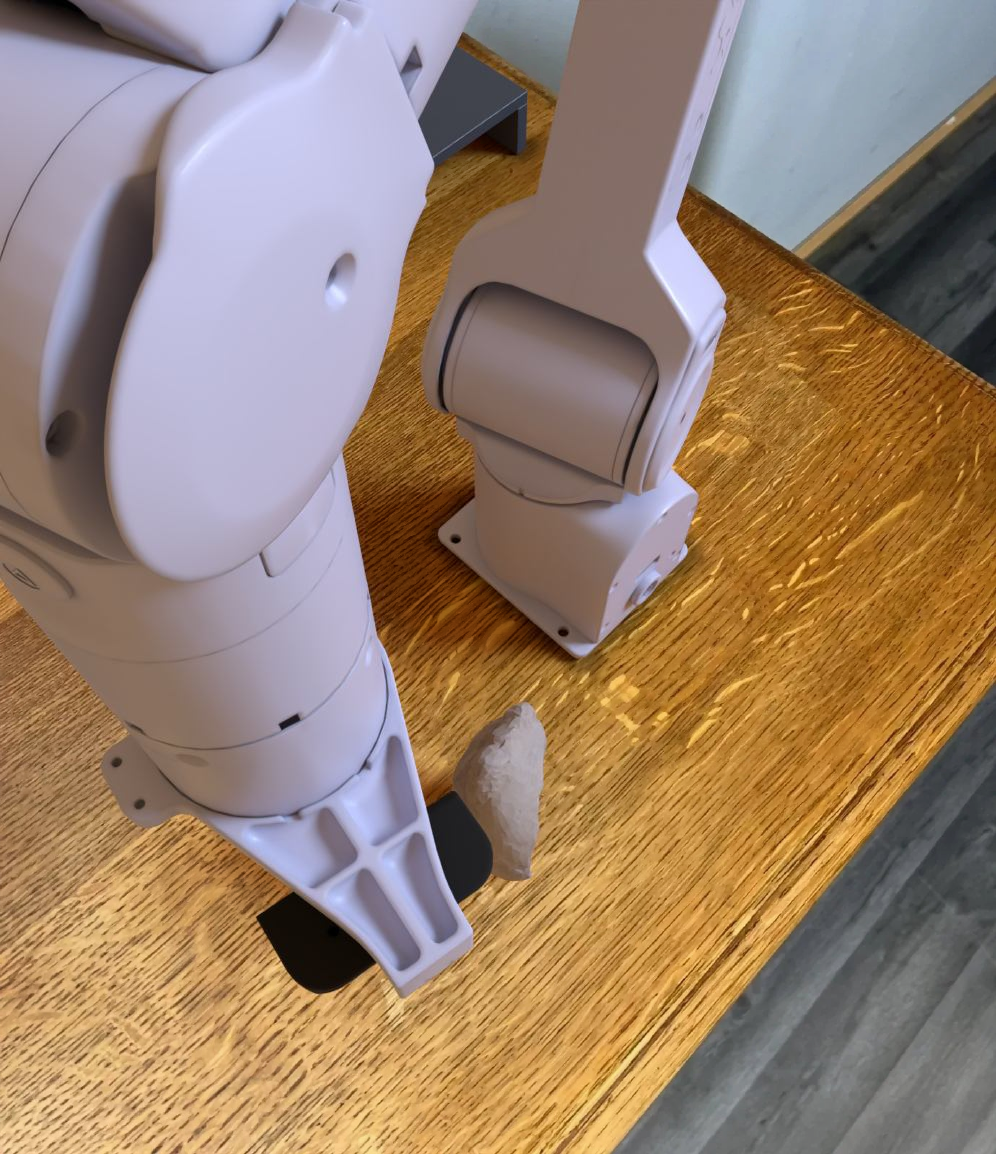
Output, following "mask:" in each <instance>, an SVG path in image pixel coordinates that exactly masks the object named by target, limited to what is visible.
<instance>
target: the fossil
mask: <svg viewBox="0 0 996 1154" xmlns="http://www.w3.org/2000/svg"><path fill="white" fill-rule="evenodd" d="M546 749H547V735H546V731H545V728H544V726H543V724H542V722H541V721H540V719H538V717H537V713H536V709H534V707H533V705H531V703H529V702H527V701H521V702H518V703H516V704H514V705H512V706H511V707H509V708H508V709H506V710H505V711H504V713H503V715H502V716H500V717H498V718H496V719H494V720H491V721H490V722H489V723H488V724H486V725H485V726H483V727H482V729H480V731H478V732H477V733H476V734H475V735H474V736H473V738H472V739H471V741H470V743H469V745H468V747H467V748H466V750H465V751H464V752H463V753H462V755H461V758H460V759H459V760H458V761H457V762H456V765H455V767H454V770H453V775H452V782H451V783H452V785H451V786H452V789H451V791H456V792H457V793H458V795H459V796H460V798H461V799H462V800H463V802H464V803H465V805H466V806H467V807H468V809H469V810H470V812H471V813H472V815H473V816H474V817H475V819H476V820H477V822H478V823H479V824H480V826H481V827H482V829H483V830H484V831H485V833H486V835H487V837H488V838H489V840H490V842H491V846H492V850H493V868H492V872H491V874H490V875H493V876H494V877H496V878H499V879H502V880H504V881H509V882H522V881H526V880H529V879H532V877H533V874H532V872H531V867H532V866H531V864H532V855H533V853H534V850H535V845H536V843H538V835H539V832H540V823H539V822H540V821H539V810H540V794H541V793H542V791H543V788H544V786H545V782H544V758H545V755H546V751H547V750H546Z"/></svg>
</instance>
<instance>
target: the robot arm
mask: <svg viewBox="0 0 996 1154" xmlns="http://www.w3.org/2000/svg"><path fill="white" fill-rule="evenodd" d="M479 1H480V0H0V580H1V583H3V585H4V586H5V588H6V589H7V590H8V592H9V593H10V595H12V597H13V598H14V599H15V601H17V603H18V604H19V605H20V606H21V607H22V608H23V610H24V611H25V612H26V613H27V614H28V616H29V617H30V618H31V619H32V620H33V621H34V622H35V623H36V625H37V626H38V628H40V630H41V631H42V632H43V634H45V636H46V637H47V638H48V639H49V640H50V641H51V643H52V644H53V645H54V646H55V648H57V650H58V651H59V652H60V653H61V655H63V657H64V658H65V659H66V661H67V662H68V663H69V664H70V665H71V666H72V668H74V670H75V671H76V672H77V673H78V675H79V676H80V677H81V678H82V680H84V682H85V683H86V684H87V685H88V687H89V688H90V689H91V690H92V691H93V692H94V694H95V695H96V696H97V698H98V699H99V700H101V702H102V703H103V704H104V706H106V707H107V709H108V710H109V711H110V712H111V713H112V714H113V715H114V717H115V718H116V720H118V721H119V723H120V724H121V725H122V727H124V729H125V730H126V731H127V732H128V733H129V734H128V735H127V736H126V737H125V738H123V739H121V740H120V741H118V742H116V743H115V744H113V745H112V746H111V747H110V748H109V749H107V750H106V752H104V753H103V756H102V758H101V761H100V764H99V765H100V770H101V776H102V777H103V779H104V780H105V783H106V784H107V786H108V789H109V790H110V792H111V793H112V795H113V797H114V799H115V801H116V803H117V804H118V807H119V809H120V811H121V812H122V814H123V815H124V816H125V817H126V818H128V819H129V821H130V822H132V823H133V824H134V825H135V826H136V827H137V828H142V829H147V830H149V829H152V828H155V827H158V826H160V825H162V824H164V823H165V822H167V821H169V820H170V819H172V818H174V817H176V816H179V815H180V816H181V815H185V816H191V817H193V818H195V819H196V820H198V821H199V822H200V823H202V824H203V825H205V826H206V827H208V829H210V830H211V831H213V832H214V833H215V834H216V835H218V836H220V838H222V839H223V840H225V841H226V842H228V843H229V844H230V845H231V846H232V847H234V848H235V849H237V850H238V851H239V852H241V854H243V855H244V856H246V857H247V858H248V859H250V860H251V861H252V862H254V863H255V864H256V865H258V866H259V867H260V868H262V870H264V871H266V872H267V873H268V874H270V875H271V877H272V876H273V878H275V879H276V880H278V881H279V882H280V883H281V884H283V886H286V887H287V888H289V889H290V890H291V892H290V893H288V894H287V895H285V896H284V897H282V898H281V899H279V900H278V901H276V902H275V903H274V904H272V905H271V906H269V907H268V908H266V909H264V910H263V911H261V912H260V913H259V914H257V915H256V916H255V919H256V920H257V922H258V925H260V927H261V929H262V931H263V932H264V934H265V937H266V938H267V940H268V941H269V943H270V945H271V947H272V948H273V951H275V953H276V956H277V957H278V959H279V960H280V962H281V964H282V965H283V967H284V969H285V971H286V972H287V973H288V975H289V976H290V977H291V978H292V980H293V981H294V982H295V983H296V984H298V985H299V986H300V987H301V988H303V989H305V990H306V991H309V992H310V993H312V994H315V995H325V994H330V993H333V992H336V991H338V990H341V989H342V988H344V987H346V986H347V985H348V984H350V983H351V982H352V981H354V980H355V979H357V978H359V977H360V976H361V975H362V974H364V973H365V972H366V971H368V970H369V969H371V968H372V967H373V966H375V965H376V964H377V965H378V966H379V968H380V969H381V971H382V972H383V973H384V975H385V976H386V978H387V980H388V981H389V983H390V984H391V986H392V988H393V989H394V991H395V992H396V994H397V996H398V997H399V998H400V999H401V1000H404V999H406V998H407V997H409V996H410V995H411V994H413V993H414V992H416V991H417V990H418V989H420V988H421V987H423V986H424V985H425V984H426V983H428V982H429V981H430V980H432V979H433V978H435V977H436V976H437V975H439V974H440V973H442V972H443V971H444V970H446V969H447V968H448V967H450V966H451V965H452V964H453V963H455V962H456V961H458V960H459V959H460V958H461V957H463V956H464V955H465V954H467V953H468V952H469V951H472V949H473V948H474V929H473V927H472V926H471V924H470V923H469V921H468V919H467V917H466V916H465V914H464V912H463V911H462V908H461V907H460V906H459V904H461V903H462V902H464V901H465V900H466V899H468V898H469V897H470V896H472V895H473V894H474V893H476V892H477V891H479V890H480V889H481V888H483V886H484V885H485V884H486V882H487V881H488V879H489V878H490V876H491V875H492V874H491V872H492V868H493V850H492V846H491V842H490V840H489V838H488V837H487V835H486V833H485V831H484V830H483V829H482V827H481V826H480V824H479V823H478V822H477V820H476V819H475V817H474V816H473V815H472V813H471V812H470V810H469V809H468V807H467V806H466V805H465V803H464V802H463V800H462V799H461V798H460V796H459V795H458V793H457V792H456V791H452V790H450V791H448V792H446V793H445V794H444V795H442V796H441V797H439V798H438V799H437V800H435V801H433V802H432V803H431V804H429V805H426V801H425V798H424V794H423V789H422V785H421V782H420V777H419V774H418V769H417V765H416V761H415V757H414V753H413V749H412V745H411V740H410V736H409V733H408V729H407V724H406V721H405V716H404V712H403V708H402V703H401V700H400V696H399V692H398V687H397V684H396V680H395V676H394V671H393V668H392V665H391V663H390V659H389V656H388V654H387V651H386V648H385V647H384V645H383V644H382V642H381V640H380V639H379V637H378V632H377V627H376V622H375V618H374V612H373V607H372V601H371V595H370V591H369V585H368V581H367V576H366V570H365V565H364V561H363V556H362V550H361V544H360V540H359V534H358V530H357V524H356V519H355V513H354V508H353V505H352V498H351V491H350V488H349V482H348V474H347V470H346V464H345V460H344V454H343V449H344V447H345V445H346V443H347V441H348V440H349V437H350V435H351V433H352V432H353V430H354V429H355V427H356V425H357V423H358V422H359V420H360V418H361V416H362V414H363V412H364V410H365V408H366V407H367V403H368V401H369V399H370V397H371V394H372V391H373V388H374V386H375V383H376V380H377V379H378V378H377V377H378V374H379V371H380V369H381V366H382V362H383V359H384V356H385V352H386V349H387V345H388V343H389V342H388V341H389V338H390V334H391V330H392V326H393V323H394V322H393V321H394V318H395V312H396V308H397V302H398V296H399V291H400V286H401V285H400V284H401V277H402V272H403V267H404V262H405V259H406V254H407V250H408V247H409V244H410V241H411V238H412V236H413V233H414V231H415V228H416V226H417V223H418V221H419V220H420V217H421V215H422V213H423V211H424V209H425V207H426V205H427V201H428V199H427V197H426V194H427V193H426V192H427V189H428V185H429V183H430V181H431V179H432V177H433V174H434V170H435V168H434V161H433V159H432V156H431V154H430V151H429V149H428V146H427V143H426V141H425V138H424V136H423V133H422V131H421V128H420V126H419V123H418V119H419V117H420V115H421V113H422V111H423V109H424V107H425V105H426V103H427V102H428V100H429V98H430V96H431V94H432V92H433V90H434V88H435V86H436V84H437V82H438V80H439V78H440V76H441V74H442V72H443V70H444V68H445V66H446V64H447V62H448V60H449V58H450V56H451V54H452V52H453V50H454V48H455V46H456V45H458V42H459V40H460V38H461V36H462V34H463V33H464V30H465V28H466V26H467V24H468V22H469V20H470V19H471V16H472V14H473V12H474V10H475V8H476V6H477V5H478V3H479ZM745 2H746V0H579V1H578V6H577V10H576V13H575V14H576V15H575V18H574V24H573V28H572V32H571V36H570V41H569V45H568V51H567V55H566V59H565V64H564V67H563V72H562V77H561V81H560V86H559V90H558V94H557V99H556V104H555V108H554V113H553V116H552V122H551V126H550V130H549V133H548V139H547V143H546V148H545V153H544V158H543V161H542V165H541V166H542V167H541V170H540V175H539V180H538V184H537V188H536V193H534V194H532V195H530V196H527V197H524V198H521V199H519V200H516V201H512V202H510V203H508V204H506V205H503V206H501V207H498V208H496V209H494V210H493V211H490V212H489V213H487V214H486V215H484V216H483V217H481V218H480V219H479V220H478V221H477V222H476V223H474V225H473V226H472V227H470V228H469V229H468V231H467V232H466V233H465V234H464V236H462V238H461V239H460V240H459V242H458V243H457V245H456V247H455V249H454V250H453V254H452V258H451V263H450V266H449V270H448V274H447V278H446V282H445V285H444V288H443V291H442V295H441V297H440V298H439V300H438V302H437V304H436V306H435V309H434V311H433V314H432V316H431V319H430V322H429V324H428V327H427V330H426V334H425V337H424V341H423V346H422V350H421V358H420V379H421V383H422V387H423V391H424V396H425V400H426V402H427V404H428V406H429V407H430V408H431V409H432V410H434V411H436V412H438V413H441V414H443V415H446V416H448V415H451V414H453V415H455V421H456V422H455V424H456V434H457V436H459V437H460V438H463V439H464V440H466V441H467V442H468V443H470V445H472V447H473V449H472V450H473V473H474V475H473V476H474V478H473V479H474V498H472V499H471V500H470V501H468V502H467V503H466V504H465V505H464V506H463V507H461V509H460V510H458V511H457V512H456V513H455V514H454V515H453V516H452V517H450V518H449V519H448V520H447V521H446V522H445V523H443V524H442V525H441V526H440V528H439V529H438V532H437V536H438V540H439V541H440V543H441V544H442V545H443V546H445V547H446V548H447V549H448V550H449V551H450V552H451V553H452V554H454V555H455V556H456V557H457V558H458V559H459V560H461V561H462V562H463V564H465V565H466V566H468V567H469V568H470V569H471V570H472V571H473V572H474V573H476V574H477V575H478V577H480V578H481V579H483V580H484V581H485V583H487V584H488V585H490V586H491V587H492V588H493V589H494V590H495V591H497V593H499V594H500V595H501V596H502V597H504V599H506V600H507V602H509V603H510V604H512V606H514V607H515V608H516V609H517V610H518V611H520V613H521V614H523V615H524V616H526V618H527V619H528V620H530V621H531V622H532V623H533V624H534V625H535V626H536V627H538V629H540V630H541V631H542V632H544V633H545V634H546V635H547V636H548V637H550V639H552V640H553V641H554V642H555V643H556V644H558V645H559V646H560V647H561V648H563V650H565V651H566V652H567V654H569V655H570V656H572V657H573V658H575V659H578V660H579V659H584V658H586V657H587V656H589V655H590V653H592V651H594V649H595V648H597V646H598V645H599V644H601V643H602V642H603V640H604V639H605V638H606V637H607V636H609V635H610V634H611V633H612V631H614V630H615V628H616V627H618V626H619V625H620V624H621V623H622V622H623V620H624V619H625V618H626V617H627V616H628V615H629V614H631V613H632V611H633V610H635V609H636V608H637V607H638V606H641V605H642V604H643V603H644V602H645V601H646V600H647V599H648V598H649V597H650V596H651V595H652V593H653V592H654V591H655V590H656V588H658V585H660V583H662V581H664V579H665V578H667V576H669V575H670V573H671V572H672V571H673V570H675V568H676V567H677V566H678V565H679V564H680V563H682V561H683V560H684V559H686V557H687V555H688V552H689V551H688V549H689V548H688V546H687V543H685V541H686V539H687V536H688V533H689V531H690V528H691V525H692V522H693V519H694V516H695V513H696V510H697V508H698V503H699V495H698V492H697V491H696V490H695V489H694V487H692V486H691V485H690V484H689V483H688V482H687V481H685V479H683V478H682V476H680V475H679V474H678V473H677V472H676V471H675V470H674V468H673V465H674V463H675V461H676V459H677V458H678V456H679V454H680V452H681V450H682V448H683V446H684V443H685V441H686V439H687V437H688V435H689V432H690V430H691V428H692V426H693V423H694V422H695V419H696V416H697V414H698V411H699V409H700V407H701V404H702V401H703V399H704V396H705V394H706V390H707V388H708V385H709V382H710V379H711V376H712V373H713V368H714V364H715V356H714V355H715V351H716V349H717V346H718V343H719V339H720V337H721V333H722V331H723V328H724V325H725V323H726V319H727V313H726V310H725V309H724V307H725V304H726V302H727V295H726V292H724V289H723V288H722V287H721V284H720V283H719V281H718V280H717V279H716V277H715V276H714V274H713V273H712V271H711V270H710V269H709V267H708V266H707V265H706V263H705V262H704V261H703V259H702V258H701V257H700V255H699V254H698V252H697V251H696V249H695V248H694V247H693V246H692V244H691V243H690V241H689V239H688V238H687V236H685V234H684V232H683V231H682V228H681V227H680V224H679V222H678V220H677V216H678V213H679V210H680V207H681V204H682V201H683V197H684V194H685V191H686V188H687V185H688V182H689V180H690V176H691V173H692V169H693V166H694V163H695V161H696V158H697V157H696V156H697V153H698V151H699V148H700V145H701V141H702V138H703V135H704V133H705V132H704V131H705V128H706V125H707V122H708V120H709V116H710V113H711V109H712V106H713V104H714V100H715V97H716V94H717V91H718V89H719V85H720V82H721V78H722V75H723V71H724V69H725V66H726V62H727V59H728V56H729V53H730V50H731V47H732V44H733V41H734V38H735V34H736V31H737V28H738V24H739V22H740V18H741V15H742V12H743V9H744V6H745ZM454 539H458V540H460V541H459V542H457V543H454V542H453V541H452V540H454ZM561 631H565V632H567V633H568V634H567V635H566V636H561V635H560V634H559V632H561Z"/></svg>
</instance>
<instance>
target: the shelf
mask: <svg viewBox="0 0 996 1154" xmlns="http://www.w3.org/2000/svg"><path fill="white" fill-rule="evenodd" d="M418 123H419V126H420V128H421V131H422V133H423V136H424V138H425V141H426V143H427V146H428V149H429V151H430V154H431V156H432V159H433V161H434V169H436V168H437V167H438V166H440V165H442V164H443V163H444V162H445V161H447V160H448V159H450V158H451V157H453V156H454V155H456V154H457V153H458V152H460V151H461V150H463V149H464V148H465V147H467V146H469V145H470V144H471V143H472V142H474V141H475V140H476V139H478V138H480V137H481V136H482V135H485V134H486V135H487V136H489V137H490V138H491V139H493V140H495V141H496V142H498V143H499V144H501V145H502V146H503V147H504V148H506V149H508V150H510V151H511V152H512V153H514V154H515V155H519V154H521V153H522V152H523V151H524V150H526V148H527V130H528V129H527V124H528V90H527V89H525V88H524V87H522V86H521V85H519V84H518V83H516V82H515V81H513V80H511V79H510V78H508V77H507V76H505V75H504V74H502V73H501V72H499V71H497V70H496V69H494V68H492V67H491V66H490V65H488V64H487V63H485V62H483V61H482V60H480V59H478V58H477V57H475V56H474V55H473V54H471V53H469V52H468V51H466V50H465V49H463V48H462V47H460V46H458V44H456V46H455V48H454V50H453V52H452V54H451V56H450V58H449V60H448V62H447V64H446V66H445V68H444V70H443V72H442V74H441V76H440V78H439V80H438V82H437V84H436V86H435V88H434V90H433V92H432V94H431V96H430V98H429V100H428V102H427V103H426V105H425V107H424V109H423V111H422V113H421V115H420V117H419V119H418Z"/></svg>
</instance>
